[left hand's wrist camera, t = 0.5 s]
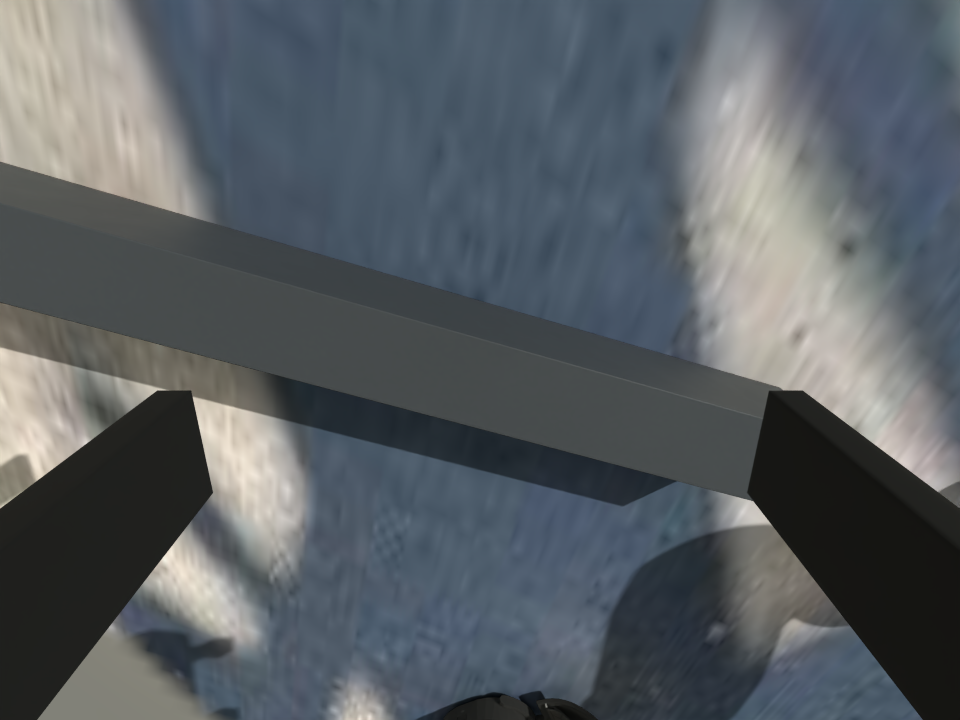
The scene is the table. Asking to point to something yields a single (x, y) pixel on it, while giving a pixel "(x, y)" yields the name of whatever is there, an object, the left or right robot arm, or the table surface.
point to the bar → (369, 334)
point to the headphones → (518, 710)
